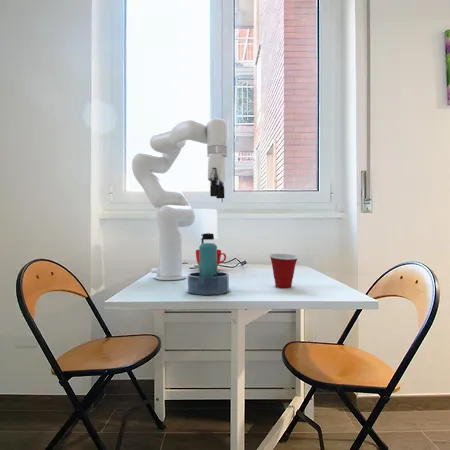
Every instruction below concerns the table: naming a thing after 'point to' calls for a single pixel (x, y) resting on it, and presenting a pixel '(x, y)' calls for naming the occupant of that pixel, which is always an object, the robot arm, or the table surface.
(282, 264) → the plastic cup
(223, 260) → the ceramic cup
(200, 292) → the blue-grey round bowl
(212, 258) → the beverage bottle
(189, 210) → the robot arm
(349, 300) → the table surface
